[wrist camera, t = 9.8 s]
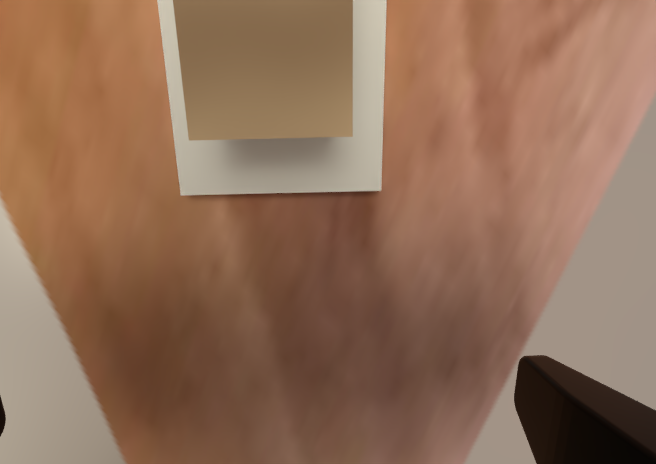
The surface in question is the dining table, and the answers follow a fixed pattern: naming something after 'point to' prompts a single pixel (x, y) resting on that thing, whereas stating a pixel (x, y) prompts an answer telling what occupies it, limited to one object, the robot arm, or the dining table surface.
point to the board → (288, 153)
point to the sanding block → (266, 68)
